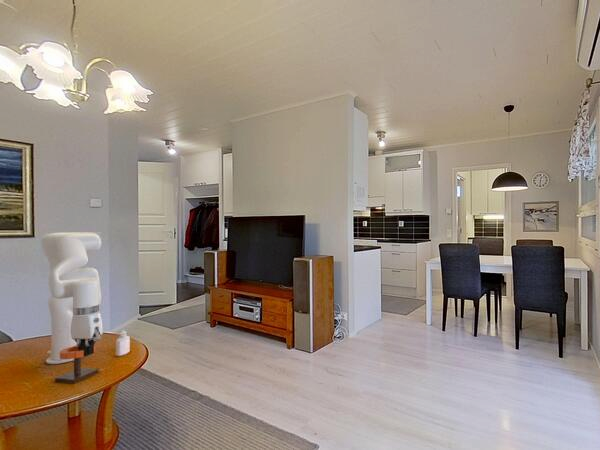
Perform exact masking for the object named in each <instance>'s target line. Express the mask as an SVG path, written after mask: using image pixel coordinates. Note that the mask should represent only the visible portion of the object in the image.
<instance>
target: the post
mask: <svg viewBox="0 0 600 450" xmlns="http://www.w3.org/2000/svg"><path fill="white" fill-rule="evenodd" d="M99 371H100V370H99V369H98V368H91V367H90V368H89V367H82V357H79V358H75V359H74V360H73V370H71V371H69V372H67V373H64V374H61V375H59V376H56V377H55V378H54V382H55V383H65V384H66V383H67V384H76V383H78V382H81V381H83V380H85V379H87V378H89V377H92V376H94V375H96V374H98V373H99Z"/></svg>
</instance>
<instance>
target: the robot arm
mask: <svg viewBox="0 0 600 450" xmlns="http://www.w3.org/2000/svg"><path fill="white" fill-rule="evenodd" d="M40 245H41V250H42V251H43V254H44V255H45V257H46V258H47V260H48V262H49V268H50V269H49V271H50V273H49V276H48V287H49V291H50V295H51V296H50V297H49V298H48V302H47V303H48V308H49V313H50V333H51V334H50V336H51V338H50V341H51V343H50V345H51V346H50V350H48V351H46V355H49V357H48V358H47V359H46V360H45V363H46V364H47V365H48V364H49V365H59V364H64V363H69V362H72V361H73V362H74V359H60V351H61V350H63V349H65V348H68V347H72V346H76V345H77V346H78V351H79V350H83V349H84V356H83V357H88V356H91V355H93V354H94V353H95V351H94V345H95V344H96V342H98V341H99V340H101V336H102V335H103V333H104V331H103V329H104V327H103V319H102V314H101V312H100V305H101V303H102V300H103V299H102V298H103V297H102V289H101V279H100V274H99V271H98V270H97V269H96V268H94V267H84V266H85V265H87V263H88V262H89V257H88V253H87V252H95V251H99V250H100V249H101V247H102V239H101V237H100V235H99V234H97V233H95V232H90V231H77V232H75V231H73V232H71V231H70V232H69V231H67V232H66V231H65V232H64V231H63V232H61V231H60V232H51V233H47V234H44V235H42V237H41V240H40Z"/></svg>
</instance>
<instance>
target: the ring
mask: <svg viewBox="0 0 600 450" xmlns="http://www.w3.org/2000/svg"><path fill="white" fill-rule="evenodd" d="M94 352H96V345H95V344H94ZM79 357H81V358H83V357H85V356H84V349H83V350H79V351H78V346H77V345H76V346H72V347H68V348H65V349H63V350H61V351H60V359H75V358H79Z"/></svg>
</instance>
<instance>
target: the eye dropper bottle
mask: <svg viewBox="0 0 600 450" xmlns="http://www.w3.org/2000/svg"><path fill="white" fill-rule="evenodd" d="M130 351H131V337H130V336H129V335H127V331H125V329H121V331H120V332H119V337H118V338H117V339H116V341H115V357H122V356H125V355H127V354H129V353H130Z"/></svg>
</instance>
